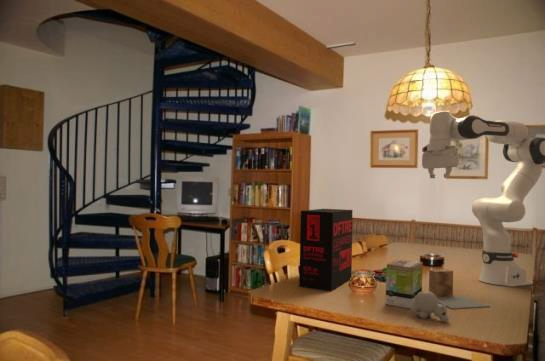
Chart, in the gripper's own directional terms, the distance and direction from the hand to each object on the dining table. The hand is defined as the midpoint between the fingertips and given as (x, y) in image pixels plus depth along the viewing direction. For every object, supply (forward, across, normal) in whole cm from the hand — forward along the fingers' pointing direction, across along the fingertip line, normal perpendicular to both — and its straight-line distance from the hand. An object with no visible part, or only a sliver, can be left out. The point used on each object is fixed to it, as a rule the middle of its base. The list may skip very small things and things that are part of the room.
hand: (439, 178), depth 180 cm
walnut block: (+47, -16, +11) cm, 51 cm away
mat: (+47, -26, +12) cm, 55 cm away
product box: (+48, +13, +48) cm, 69 cm away
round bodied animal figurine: (+48, -40, +34) cm, 71 cm away
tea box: (+48, -21, +32) cm, 61 cm away
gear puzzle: (+48, +21, +11) cm, 54 cm away
